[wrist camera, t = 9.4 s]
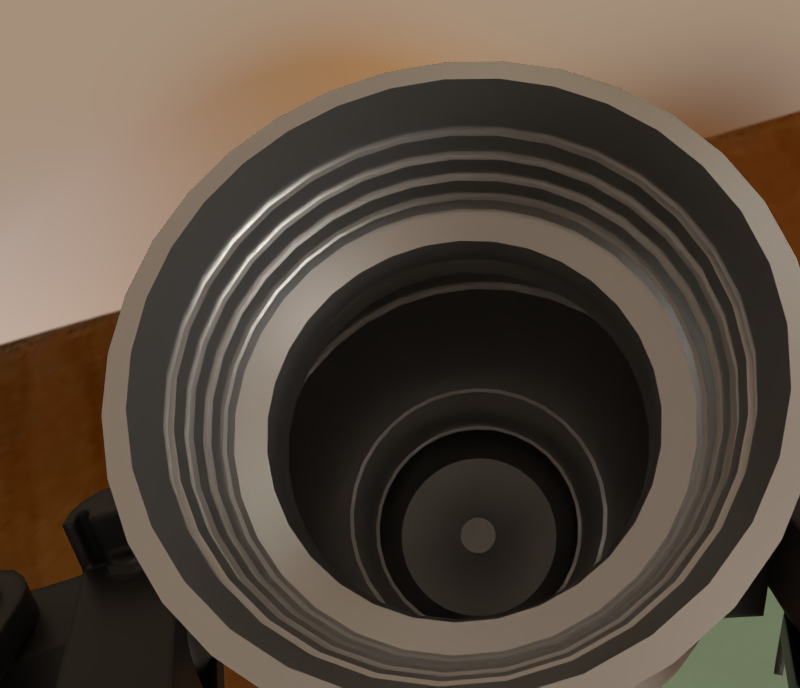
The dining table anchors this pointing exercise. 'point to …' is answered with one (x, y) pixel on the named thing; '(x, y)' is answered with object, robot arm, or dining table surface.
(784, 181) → the dining table surface
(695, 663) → the placemat
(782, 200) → the dining table surface
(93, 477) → the dining table surface
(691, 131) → the silver metal bottle
